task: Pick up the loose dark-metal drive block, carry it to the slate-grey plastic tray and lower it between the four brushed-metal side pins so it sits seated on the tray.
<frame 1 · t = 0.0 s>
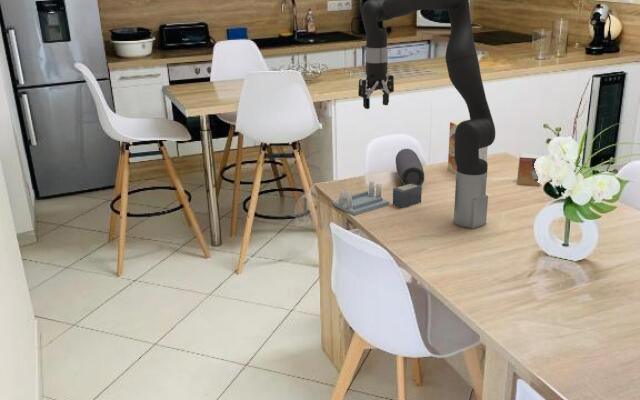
hand: (376, 106, 227), 29 cm above the table, fingers open, 8 cm apart
drive: (406, 203, 219), on the table
coffeecake box: (466, 174, 246), on the table
bluetooth speaker: (409, 182, 240), on the table
small box: (528, 183, 235), on the table
pin tray: (360, 204, 219), on the table
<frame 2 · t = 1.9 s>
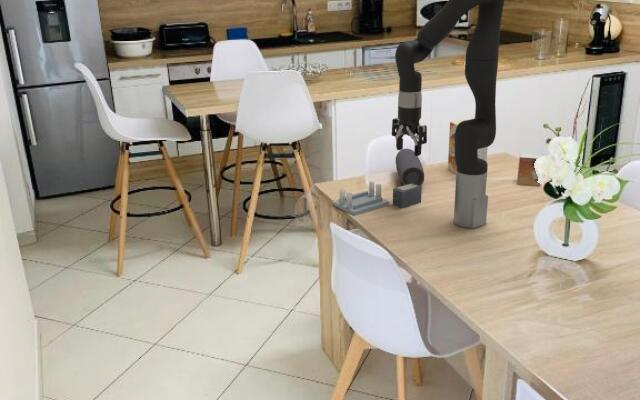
hand: (408, 152, 213), 18 cm above the table, fingers open, 8 cm apart
nothing on the table moved.
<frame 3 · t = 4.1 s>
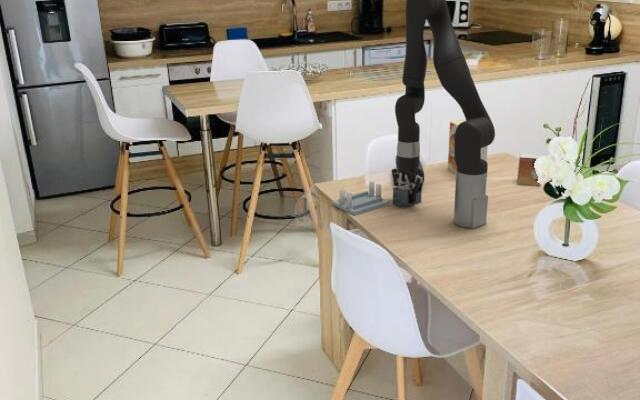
hand: (407, 201, 219), 1 cm above the table, fingers closed on drive, 4 cm apart
drive: (406, 203, 219), on the table, touching gripper
everything else where it was.
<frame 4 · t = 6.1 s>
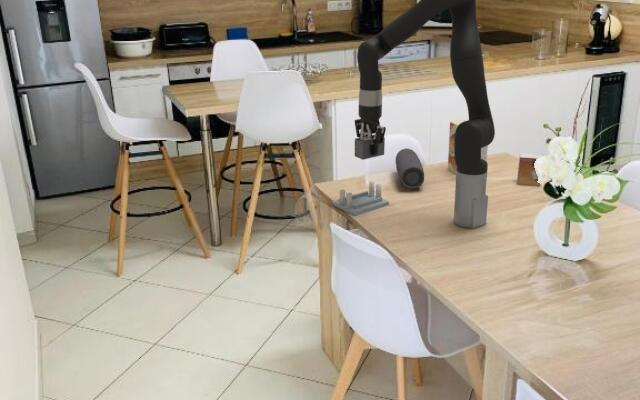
hand: (369, 152, 213), 18 cm above the table, fingers closed on drive, 4 cm apart
drive: (369, 155, 214), point 17 cm above the table, touching gripper
everything else where it was.
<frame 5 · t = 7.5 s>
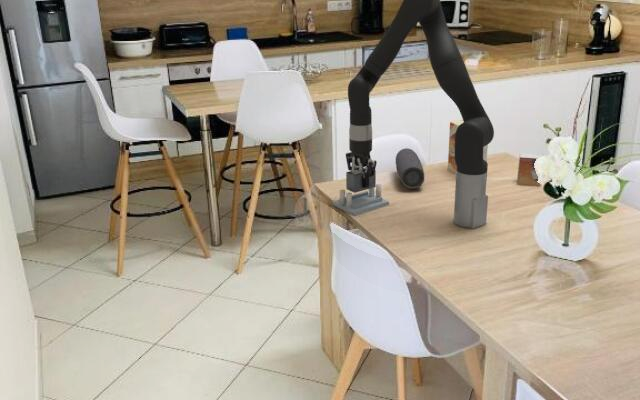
hand: (360, 185, 217), 7 cm above the table, fingers closed on drive, 4 cm apart
drive: (361, 188, 217), point 6 cm above the table, touching gripper
everything else where it was.
when the fingers open (3 cm above the table, at t = 8.6 s): drive drops 1 cm, resting on pin tray.
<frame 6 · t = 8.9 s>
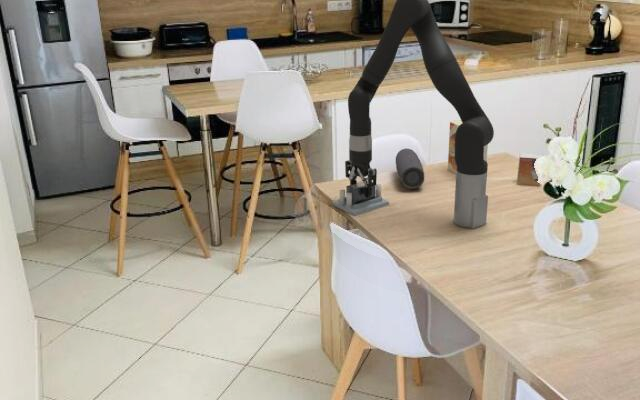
hand: (360, 193, 218), 4 cm above the table, fingers open, 7 cm apart
drive: (361, 201, 219), point 1 cm above the table, touching pin tray
everything else where it was.
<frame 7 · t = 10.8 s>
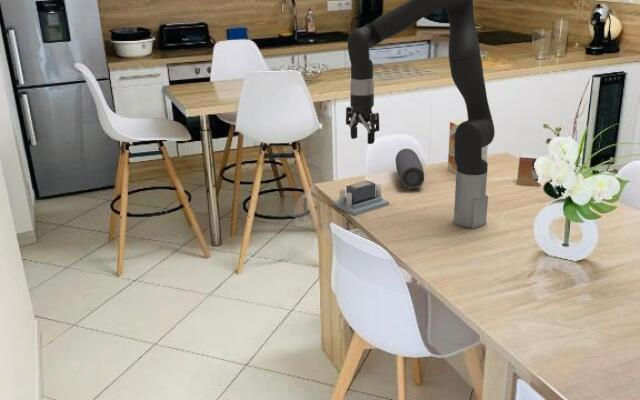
hand: (362, 140, 211), 22 cm above the table, fingers open, 8 cm apart
nothing on the table moved.
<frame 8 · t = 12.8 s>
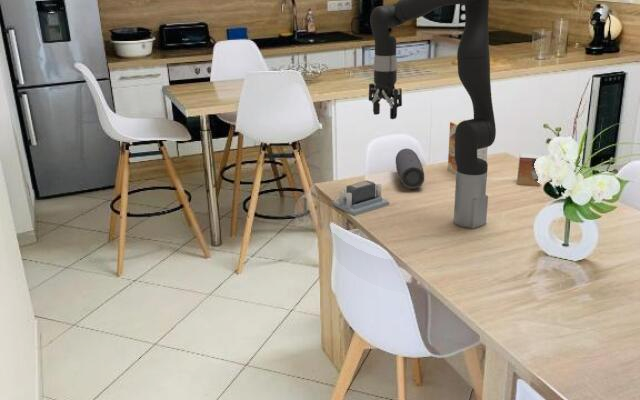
hand: (384, 116, 218), 28 cm above the table, fingers open, 8 cm apart
nothing on the table moved.
at the end: drive 0.1 cm off-centre on the pin tray, point 1.2 cm above the pin tray's base; drive tilted 0°; the gripper is holding nothing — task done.
